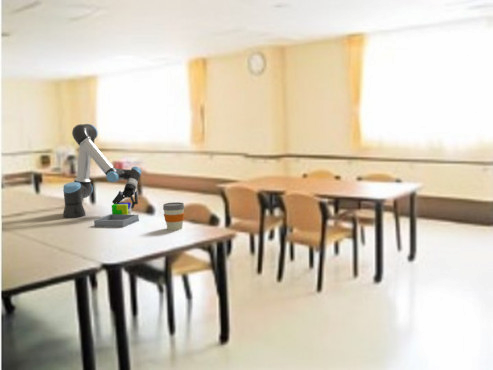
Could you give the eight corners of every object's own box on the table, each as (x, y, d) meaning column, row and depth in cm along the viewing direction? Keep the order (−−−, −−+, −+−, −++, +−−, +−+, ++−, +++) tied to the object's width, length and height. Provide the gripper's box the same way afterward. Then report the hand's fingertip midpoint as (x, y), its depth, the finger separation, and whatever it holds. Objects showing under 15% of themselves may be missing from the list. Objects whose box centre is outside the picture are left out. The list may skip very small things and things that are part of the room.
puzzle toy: (131, 216, 364) (130, 202, 363) (127, 219, 354) (126, 204, 353) (117, 217, 365) (116, 202, 363) (112, 220, 355) (111, 205, 353)
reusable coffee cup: (181, 231, 312) (180, 205, 310) (161, 230, 314) (159, 205, 312) (188, 226, 324) (186, 202, 322) (168, 226, 326) (167, 202, 324)
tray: (94, 226, 335) (94, 220, 334) (111, 220, 354) (110, 214, 354) (123, 227, 329) (123, 220, 329) (138, 220, 349) (138, 214, 348)
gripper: (148, 189, 372) (139, 215, 359) (118, 189, 378) (108, 214, 365) (144, 182, 366) (135, 208, 353) (113, 183, 372) (103, 208, 360)
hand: (121, 211), depth 359 cm, fingers closed on puzzle toy, 11 cm apart
